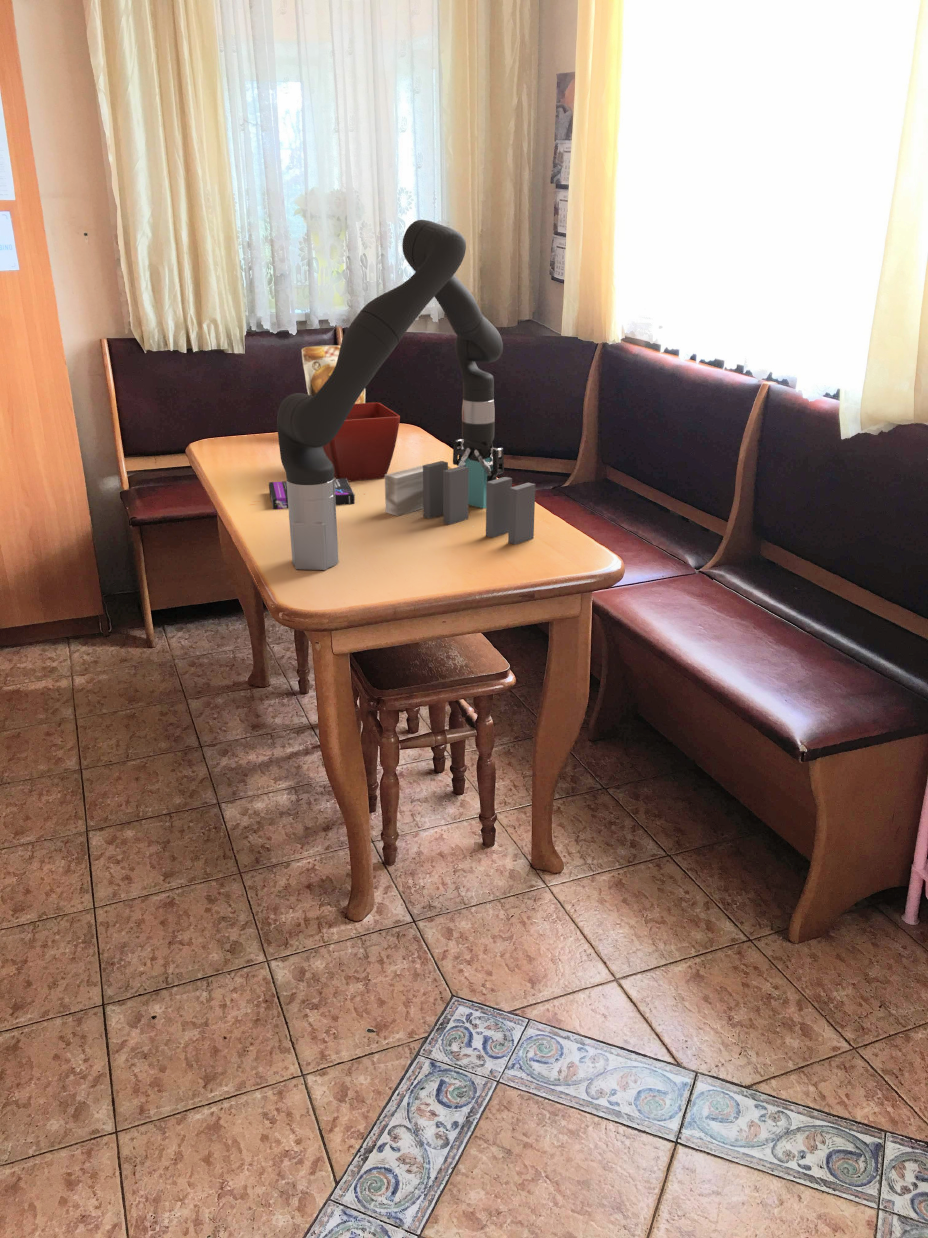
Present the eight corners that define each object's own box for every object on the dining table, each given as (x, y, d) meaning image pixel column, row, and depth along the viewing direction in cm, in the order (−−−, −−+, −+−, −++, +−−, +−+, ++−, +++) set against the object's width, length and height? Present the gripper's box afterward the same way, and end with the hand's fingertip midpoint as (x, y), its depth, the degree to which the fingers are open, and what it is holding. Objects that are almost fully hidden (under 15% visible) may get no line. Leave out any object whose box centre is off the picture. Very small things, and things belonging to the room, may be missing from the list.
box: (272, 513, 228) (355, 506, 232) (271, 498, 226) (354, 492, 230) (269, 495, 240) (348, 489, 244) (268, 481, 238) (347, 476, 242)
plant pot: (402, 480, 251) (401, 415, 244) (330, 487, 244) (327, 421, 238) (380, 462, 267) (379, 401, 260) (313, 469, 261) (309, 406, 254)
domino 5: (533, 538, 209) (535, 484, 204) (515, 544, 205) (516, 489, 200) (526, 536, 210) (528, 482, 205) (508, 542, 206) (509, 487, 201)
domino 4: (510, 531, 213) (512, 478, 208) (492, 537, 209) (493, 483, 204) (504, 529, 214) (505, 476, 209) (485, 535, 210) (486, 481, 205)
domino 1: (447, 512, 225) (447, 462, 220) (429, 518, 221) (429, 467, 216) (441, 511, 226) (441, 460, 222) (423, 516, 222) (422, 465, 218)
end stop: (440, 503, 232) (440, 466, 228) (397, 516, 223) (396, 477, 219) (428, 500, 234) (428, 463, 231) (385, 512, 225) (384, 474, 222)
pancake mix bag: (304, 441, 290) (298, 345, 279) (365, 436, 296) (362, 342, 285) (309, 446, 284) (303, 348, 273) (371, 441, 291) (368, 345, 279)
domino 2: (468, 518, 221) (468, 467, 216) (449, 524, 217) (449, 472, 212) (461, 516, 222) (462, 465, 218) (443, 522, 218) (443, 470, 214)
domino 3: (470, 501, 233) (471, 452, 229) (489, 506, 230) (489, 457, 225) (465, 503, 232) (465, 454, 227) (483, 508, 228) (484, 458, 224)
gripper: (512, 421, 221) (510, 489, 227) (467, 411, 230) (467, 478, 236) (490, 426, 216) (489, 496, 222) (444, 416, 225) (445, 484, 231)
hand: (477, 487), depth 229 cm, fingers open, 8 cm apart
